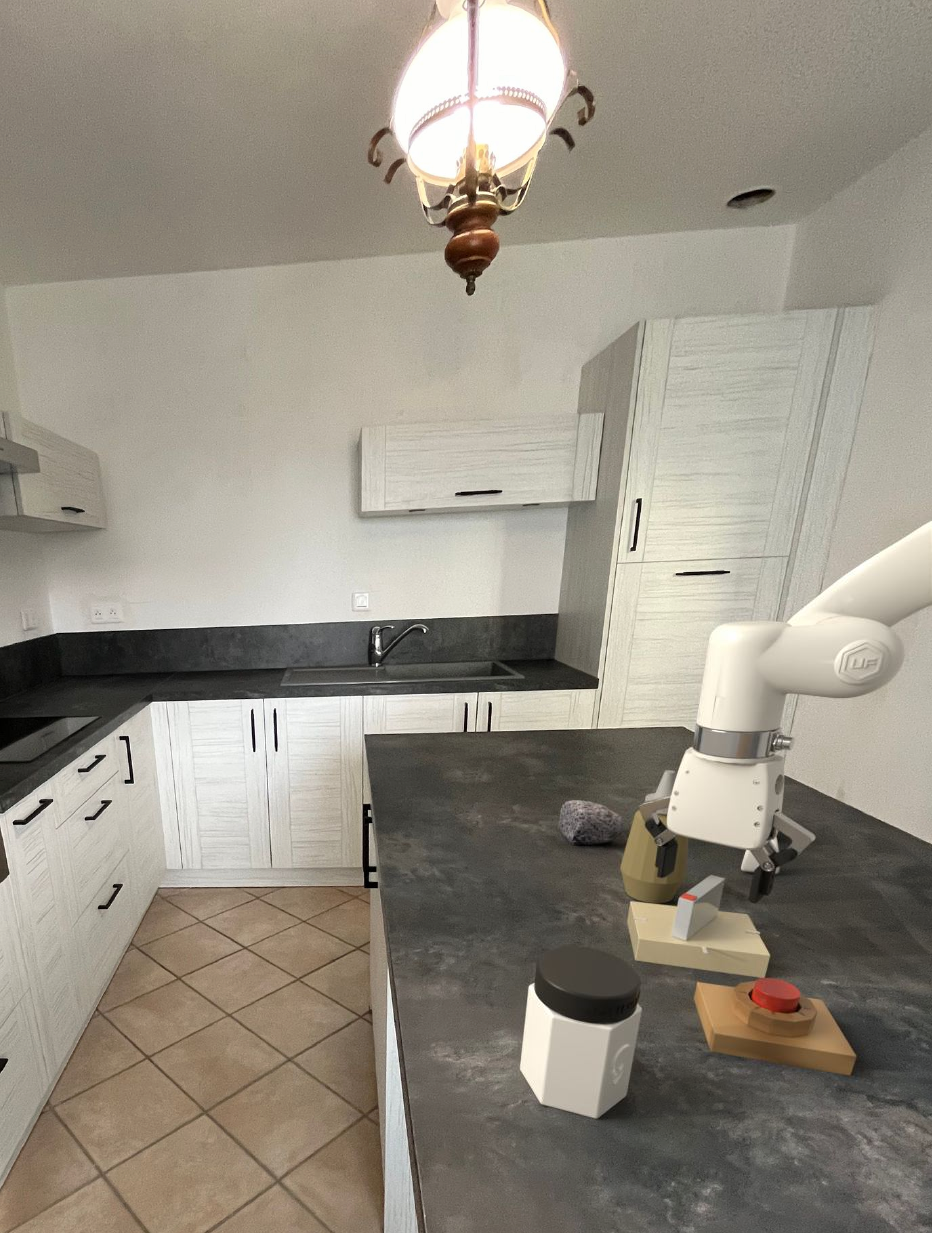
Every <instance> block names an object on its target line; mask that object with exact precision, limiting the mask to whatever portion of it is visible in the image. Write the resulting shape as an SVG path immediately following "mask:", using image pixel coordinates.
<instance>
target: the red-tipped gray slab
mask: <svg viewBox="0 0 932 1233" xmlns="http://www.w3.org/2000/svg"><path fill="white" fill-rule="evenodd" d="M725 881H726V878H725V877H720V876H717V875H713V874H710V875H708V876H707V877H705V878H704V879H702V880H701V881H700V882H699V883H697V884H696V885H695V886H693V887H692V888H690V889H689V890H687V891H686V892H684V893H683V894H682V895H680V896H679V897H678V901H677V905H676V906H677V911H676V916H675V921H674V927H673V932H672V936H673V937H676V938H679V939H682V940H685V941H687V940H688V939H689V938H690V937H691V936H693V935H694V934H695V933H696V932H698V931H699V930H700V929H701V928H702V927H704V926H705V925H706V924H707V923H709V922H710V921H711V920H712V919H713V918H715V917H716V916H717V914H718V911H719V909H720V905H721V900H722V896H723V892H724V891H723V890H724V886H725Z"/></svg>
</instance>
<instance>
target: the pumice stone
mask: <svg viewBox="0 0 932 1233" xmlns="http://www.w3.org/2000/svg"><path fill="white" fill-rule="evenodd" d="M624 824H625V822H624V820H623V818H622V816H621V815H620V814H618V813H617V812H614V811H613V810H611V809H610V808H608V807H607V806H605V805H603V804H599V803H595V802H593V801H591V800H590V801H589V800H588V801H585V800H577V799H576V800H574V799H573V800H568V801H565V803H564V804H563V805H561V809H560V815H559V820H558V826H557V829H558V830H559V832H560V833H561V835H562V837H563V838H564V839H565V840H567V841H568V843H569V844H570V845H574V846H583V845H584V846H591V845H600V844H606V843H608V844H609V843H611V842H614V841H615V840H616V839H617V838H618V837H620V836H621V834H622V832H623V829H624Z"/></svg>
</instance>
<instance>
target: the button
mask: <svg viewBox="0 0 932 1233" xmlns="http://www.w3.org/2000/svg"><path fill="white" fill-rule="evenodd" d="M755 981H756V982H755V985H754V989H753V993H752V997H751V999H752V1001H753V1002H754V1003H756V1004H757V1005H758V1006H760V1007H762V1008H765V1009H767V1010H770V1011H773V1012H778V1013H785V1014H790V1013H795V1012H796V1010H797V1006H798V1003H799V999H800V995H802V994H801V991H800V990H799V989H798V988H797V987H796V986H795V985H793V984H791V983H789V982H787V981H785V980H782V979H778V978H771V977H765V978H758V979H756V980H755Z"/></svg>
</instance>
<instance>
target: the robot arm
mask: <svg viewBox="0 0 932 1233" xmlns="http://www.w3.org/2000/svg"><path fill="white" fill-rule="evenodd" d="M931 606H932V520H930V521H928V522H927V523H925V524H923V525H922V526H920V527H919V528H917V529H915V530H914V531H912V532H911V533H909V534H908V535H906V536H905V537H903V538H901V539H899V540H898V541H897V542H895V543H894V544H892V545H890V546H888V547H887V548H885V549H883V550H881V551H880V552H878V553H876V554H875V555H873V556H872V557H870V558H869V559H867V560H865V561H863V562H862V563H861V564H859V565H858V566H856V567H855V568H853V569H851V570H850V571H849V572H847V573H846V574H844V575H843V576H842V577H841V578H839V579H838V580H837V581H835V582H833V583H832V585H830V586H829V587H827V588H826V589H825V590H823V592H821V593H820V594H818V595H817V596H816V597H815V598H814V599H812V600H811V601H810V602H809V603H808V604H806V605H804V607H802V608H801V609H800V610H799V611H797V612H796V613H795V614H793V616H792V617H790V619H789V620H787V622H784V621H775V620H744V621H743V620H741V621H732V622H726V623H723V624H719V625H718V626H717V627H716V628H714V629H713V631H712V632H711V634H710V635H709V639H708V643H707V648H706V654H705V663H704V670H703V676H702V683H701V688H700V695H699V701H698V708H697V714H696V722H695V729H694V734H693V735H694V736H693V741H692V746H690V747H689V748H688V749H686V750H685V752H684V754H683V757H682V758H681V762H680V765H679V768H678V771H677V773H676V775H675V777H676V779H675V783H674V786H673V790H672V794H671V795H669V796H665V797H662V798H658V799H654V800H650V801H647V802H645V801H644V802H643V803H641V804H639V806H638V811H639V810H640V812H641V815H642V818H643V820H644V821H645V827H646V829H647V830H648V831H649V833H650V834H651V835H652V836H653V838H654V843H655V844H656V845H658V847H657V854H656V862H655V867H657V868H658V873H657V877H659V878H665V877H666V876H668V875H669V874H670V873H672V872H673V871H674V868H675V862H676V855H677V848H678V843H677V841H676V840H675V837H676V836H677V835H680V836H684V837H688V838H689V839H693V840H698V841H702V842H706V843H711V844H715V845H719V846H720V845H721V846H724V847H729V848H733V849H734V848H735V849H739V850H745V851H746V850H750V852H751V853H752V855H753V856H754V857H755V859H756V860H757V862H758V863H759V866H758V867H757V868H756V869H755V870H754V872H753V873H752V879H751V884H750V889H749V894H748V899H747V900H748V901H749V902H750V903H752V904H757V903H759V901H761V900H762V899H763V898H764V897H765V896H767V897H768V896H769V895H770V894H771V893H772V890H773V886H774V882H775V876H776V874H775V872H776V868H777V867H779V868H780V867H781V866H784V865H786V864H788V863H790V862H792V861H794V860H795V859H797V858H798V857H799V856H800V855H801V854H802V853H803V852H804V851H805V850H806V849H807V848H808V847H810V845H811V844H812V843H813V842H814V841H815V840H816V835H815V834H814V833H813V832H811V831H810V830H808V829H807V828H805V827H803V826H802V825H801V824H799V823H797V822H796V821H794V820H792V819H791V818H789V816H787V815H785V814H784V813H783V812H782V811H783V803H784V802H783V801H784V792H785V791H784V790H785V760H784V757H783V756H782V755H780V754H776V753H777V752H779V751H780V752H781V751H783V750H784V751H792V750H793V747H794V745H795V737H794V736H787V735H786V734H783V727H781V723H782V719H783V714H784V708H785V703H786V699H787V695H789V694H791V695H802V696H810V697H819V698H829V699H851V698H852V699H853V698H857V697H862V696H865V695H868V694H871V693H874V692H876V691H878V690H880V689H881V688H883V687H885V686H886V685H887V684H889V683H890V682H891V681H892V680H893V679H894V678H895V677H896V676H897V674H898V673H899V672H900V670H901V668H902V666H903V663H904V661H905V660H904V659H905V646H904V643H903V641H902V639H901V637H900V636H899V635H898V633H897V632H896V631H895V630H893V629H892V627H893V626H895V625H897V624H898V623H900V622H902V621H903V620H905V619H907V618H908V617H911V616H912V615H914V614H916V613H918V612H920V611H922V610H924V609H926V608H929V607H931ZM668 807H669V808H668ZM664 808H668V814H667V827H668V829H667V828H666V826H665V825H664V824H663V823H662V821H661V820H660V819H659V818H658V817H657V810H660V809H664ZM779 832H780V833H782V834H783V835H785V836H786V837H788V838H789V839H790V840H791V844H789V845H788V846H787V847H785V848H784V849H781V850H779V852H778V850H777V849H776V847H775V846H774V844H773V843H772V842H771V840H774V839H775V837H777V836H778V833H779Z"/></svg>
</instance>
